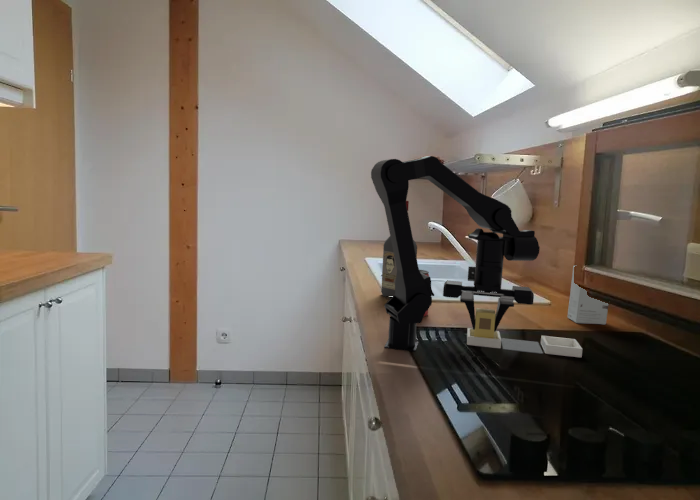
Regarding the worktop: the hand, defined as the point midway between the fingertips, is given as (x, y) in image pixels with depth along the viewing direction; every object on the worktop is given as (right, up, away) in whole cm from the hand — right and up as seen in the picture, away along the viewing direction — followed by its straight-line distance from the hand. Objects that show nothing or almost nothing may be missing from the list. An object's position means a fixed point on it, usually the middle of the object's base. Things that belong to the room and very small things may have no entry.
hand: (484, 330), depth 107 cm
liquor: (-15, +3, +46) cm, 48 cm away
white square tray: (+15, -4, -3) cm, 16 cm away
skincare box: (+34, -2, +24) cm, 42 cm away
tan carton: (0, -3, 0) cm, 3 cm away
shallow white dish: (0, -3, 0) cm, 3 cm away
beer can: (-12, 0, +23) cm, 26 cm away
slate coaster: (+8, -4, -1) cm, 9 cm away
